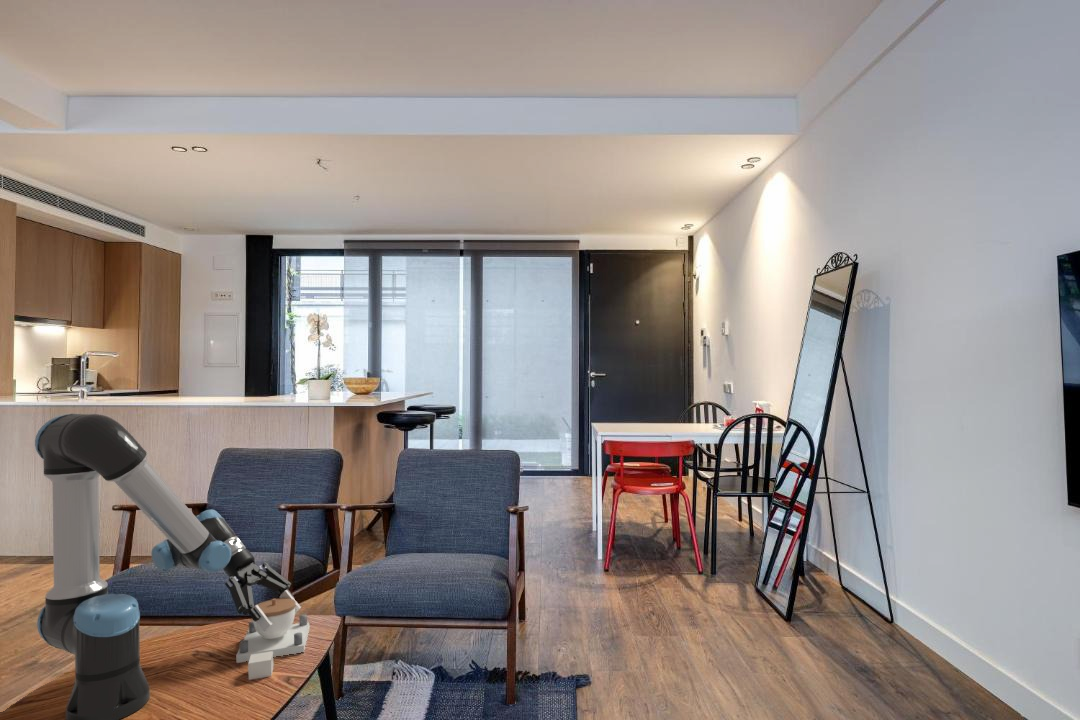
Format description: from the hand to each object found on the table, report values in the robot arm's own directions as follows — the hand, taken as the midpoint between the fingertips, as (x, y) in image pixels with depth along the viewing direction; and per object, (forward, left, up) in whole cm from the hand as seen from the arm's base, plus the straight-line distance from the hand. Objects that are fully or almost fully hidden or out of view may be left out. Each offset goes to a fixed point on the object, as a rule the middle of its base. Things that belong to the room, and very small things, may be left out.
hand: (283, 619), depth 164 cm
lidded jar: (-2, +2, -4) cm, 5 cm away
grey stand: (-2, +2, -7) cm, 8 cm away
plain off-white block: (-3, -14, -7) cm, 17 cm away
